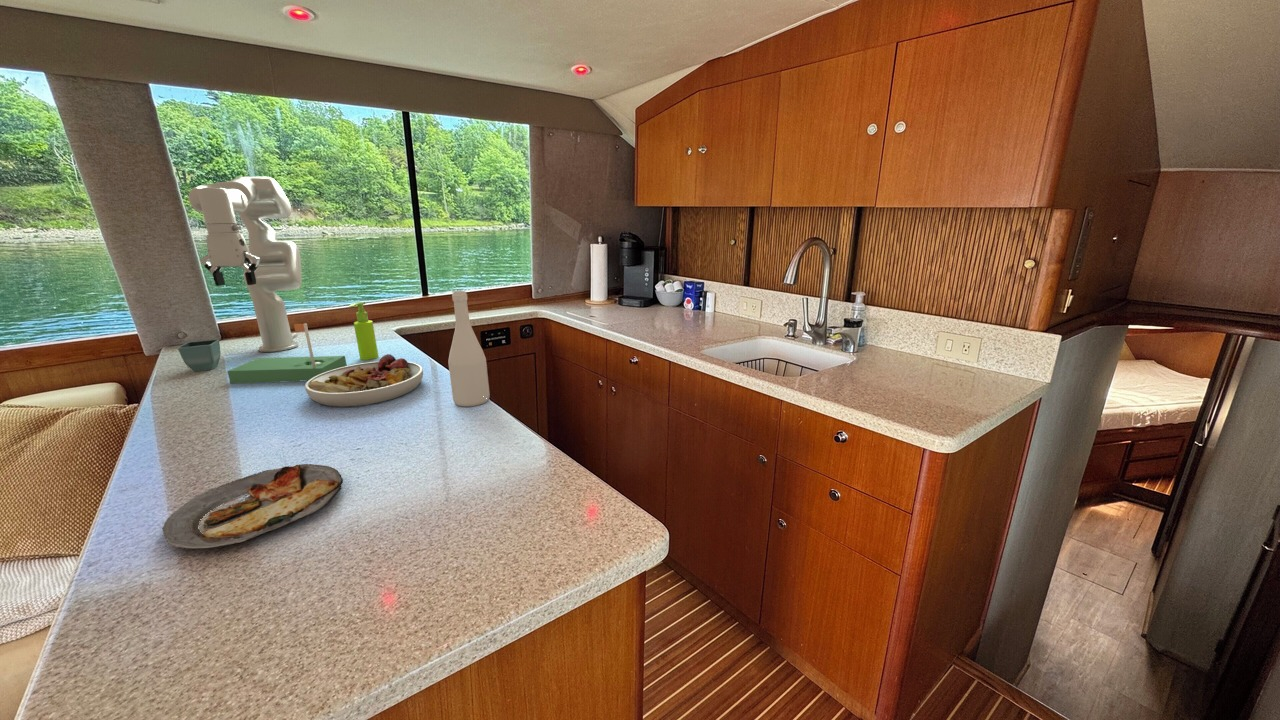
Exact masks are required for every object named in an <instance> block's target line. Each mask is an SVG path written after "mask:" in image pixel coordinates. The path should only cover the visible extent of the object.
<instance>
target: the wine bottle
mask: <svg viewBox="0 0 1280 720" xmlns="http://www.w3.org/2000/svg"><path fill="white" fill-rule="evenodd" d="M451 298H452V300H451V301H452V302H453V308H454V318H455V326H454V327H455V329H454V333H453V337H452V342H451V346H450V350H449V354H448V355H449V356H448V362H447V363H448V371H449V378H450V379H449V380H450V387H451V394H452V400H453V403H454V405H457V406H458V407H470V408H471V407H476V406H479V405H483V404H485V403H486V402H488V401H489V400H490V396H491V395H490V384H489V376H488V365H487V358H486V356H485V352H484V350H483V348H482V347H481V345H480V342H479V340H478V338H477V336H476V334H475V331H474V329H473V327H472V324H471V321H470V315H469V308H468V300H469V299H468V293H467V292H466V290H465V291H464V290H456V291H453V292H452V294H451ZM483 396H484V397H483ZM486 398H487V399H488V400H487V399H486Z"/></svg>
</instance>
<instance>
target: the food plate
mask: <svg viewBox="0 0 1280 720" xmlns="http://www.w3.org/2000/svg"><path fill="white" fill-rule="evenodd" d="M343 481H344V479H343V477H342V474H341V473H340V472H339V470H338V469H336V468H334V467H331V466H328V465H321V464H311V463H303V464H300V463H298V464H295V465H292V466H291V465H289V466H288V465H286V466H281V467H280V468H273V469H266V470H263V471H259V472H258V473H253V474H250V475H247V476H245V477H242V478H237V479H235V480H234V481H230V482H227V483H225V484H222V485H219V486H217V487H213V488H210V489H208V490H206V491H204V492H202V493H200V494H198V495H196V496H195V497H193V498H191V499H190V500H188V501H187V502H186V503H184V504H182V506H181V507H179V508H178V509H177V510H175V511H174V512H173V513H172V514H170V515H169V517H167V519H166V520H165V521H164V524H163V527H161V529H162V533H163V536H164V538H165V540H166V541H167V543H168V544H169V545H170V546H172V547H177V548H183V549H195V550H196V549H208V548H217V547H221V546H228V545H233V544H238V543H243V542H246V541H248V540H250V539H253V538H255V537H257V536H260V535H262V534H263V535H264V534H265V533H268V532H270V531H274V530H276V529H279V528H281V527H284V526H286V525H287V524H291V523H293V522H295V521H297V520H299V519H301V518H304V517H306V516H309V515H312V514H313V513H315V512H317V511H319V510H321V509H322V508H324V507H325V506H328V504H329V503H330V502H331V501H332V500H333V499H334V498H335V497H336V495H338V493H340V492H341V490H342V485H343ZM240 498H244V499H240ZM237 499H240V501H239V502H236V503H234V504H232V505H231V504H228V503H229V502H231V501H235V500H237ZM223 503H224V504H228V506H227V507H225V508H220V509H216V510H215V509H214V508H216V507H218V506H220V505H221V504H222V505H224V504H223ZM213 509H214V510H213ZM210 510H212V511H213V512H210ZM208 512H210V513H209V515H208V514H207V513H208ZM205 514H207V516H208V517H207V518H205V520H204V521H203V523H204V524H203V525H204V526H205V527H206V528H211V526H212V527H213V528H211V529H209V530H207V531H203V532H202V531H201V532H202V533H203V534H202V533H201V532H200V530H201V529H200V530H199V529H198V525H199V521H201V520H200V519H202V518H203V516H205ZM202 520H203V519H202ZM231 520H233V521H231ZM229 521H231V522H229ZM227 522H228V523H227ZM224 523H225V524H224ZM220 524H223V525H220ZM218 525H220V526H218ZM199 526H200V525H199ZM215 526H216V527H215ZM217 526H218V527H217Z"/></svg>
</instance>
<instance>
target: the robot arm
mask: <svg viewBox="0 0 1280 720" xmlns="http://www.w3.org/2000/svg"><path fill="white" fill-rule="evenodd" d="M188 202H189V204H190V205H191V207H192V208H193V210H194V211H196V212H198V213H202V215H203V219H204V223H205V227H206V230H207V234H206V247H207V254H206V255H204V256H203V257H200V258H199V261H200V262H201V264H202V265H203V266H204V268H205V269H206V270H207V271H209V273H210V274H212V277H213V281H214V283H215V286H217V287H219V286H225V285H226V282H225V278H224V274H223V272H222V271H221V270H222V269H223V268H229V267H230V268H232V267H233V268H236V267H241V268H242V269H243V270H244V271H243V279H244V284H245V285H246V287H247V289H248V292H249V294H250V298H251V301H252V304H253V308H254V313H255V317H256V321H257V325H258V326H257V327H258V330H259V334H260V337H261V342H262V345H260V346H259V347H258V351H259V352H262V353H273V352H274V353H275V352H281V351H286V350H291V349H295V348H297V347H298V346H299V343H298V342H297V341H294V339H295V338H298V334H297V332H293V333H292V332H291V327H290V323H289V320H288V314H287V311H286V310H287V309H286V304H285V302H284V299H282V297H280V296H279V295H278V294H277V293H276V292H280V291H282V292H283V291H294V290H298V289H299V288H301V286H302V283H303V282H302V280H303V279H302V265H301V264H302V261H301V259H302V258H301V253H300V249H299V247H298V245H297V244H296V242H293V241H291V240H277V233H276V231H275V230H274V229H273V228H272V227H271V225H269V224H268V223H266V222H264V221H263V219H264V220H265V219H287V218H290V216H291V215H292V206H291V203H290V200H289V198H288V197H287V196H286V193H285V192H284V190H283V188H282V187H281V185H280V184H279V183H278V181H276V180H275V179H274V178H272V177H269V176H238V177H235V178H233V179H231V180H228V181H221V182H215V183H207V184H202V185H198V186H195V187H193V188H191V189H190V191H189V193H188ZM235 214H238V216H239V218H240V219H241V222H242V223H243V225H244V227H245V228H246V230H247V233H248V243H247V241H246V239H245V237H244V235H243V234H242V233H240V231H241V230H242V227H241V225H238V223H237V218H236V215H235ZM261 219H262V220H261Z"/></svg>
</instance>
